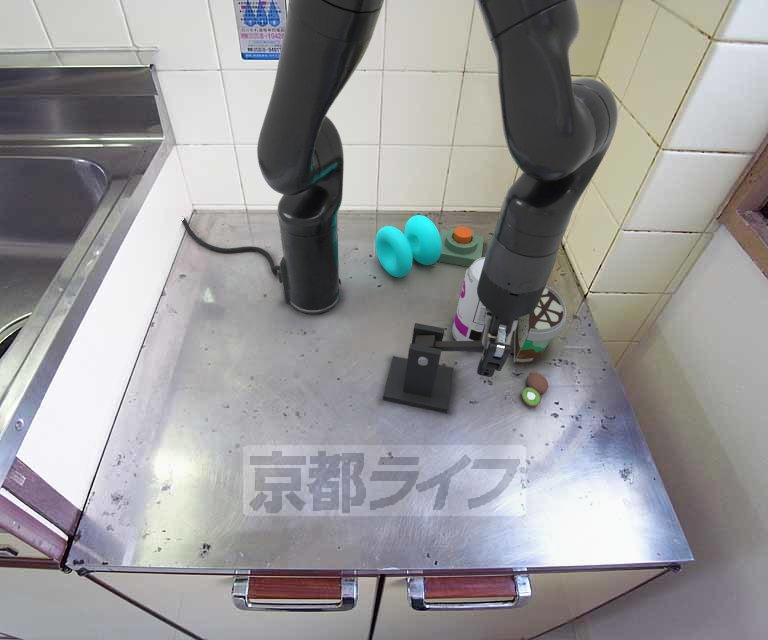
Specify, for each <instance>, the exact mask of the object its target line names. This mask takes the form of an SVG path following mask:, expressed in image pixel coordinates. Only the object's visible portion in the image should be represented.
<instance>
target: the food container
mask: <svg viewBox="0 0 768 640" xmlns="http://www.w3.org/2000/svg"><path fill="white" fill-rule="evenodd" d="M566 320H567V307H566V304H565V301H564V300H563V298H562V297H561V295H560V294H559V293H558V292H557V291H556V290H555V289H553V288H552V287H550V286H549V285H547V284H546V286H545V289H544V291H543V294H542V296H541V298H540V301H539V303H538V306H537V307H536V309H535V310H534V311H533V312H531V313H530V314H528V315H526V316H522V317H519V318H518V323H517V327H516V330H515V331H513V333H514V336H513V339H514V340H513V342H514V343H513V364H515V365H528V364H529V365H530V364H531V363H534V362H537V360H539V359H540V357H542V356H543V354H544V352H545V350H546V349H547V347H548V346H549V344H550V343H551V341H552V340H553V338H555V337H557V336H558V335H559V334H560V333H561V332H562V331H563V329H564V328H565V325H566Z"/></svg>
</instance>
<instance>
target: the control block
mask: <svg viewBox="0 0 768 640" xmlns="http://www.w3.org/2000/svg"><path fill="white" fill-rule="evenodd" d="M456 228H457V227H454V228H451V229H449V230H448V229H441V230H440V233H439V234H440V237H441V242H442V251H441V255H440V257H439V259H438V260H437V261H436V262H439V263H445V264H451V265H456V266H462V267H467V268H469V267H470V266H471V265H472V264H473V263H474V262H475V260H477V259H479V258H482V257H483V248H484V238H485V236H483V235H477V233H476V232H474V231H473V230H471V231H472V237H471V241H470V243H468V244H460V243H457V242H456V241H454V239H453V236H454V231H455V229H456Z"/></svg>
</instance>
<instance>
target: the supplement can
mask: <svg viewBox="0 0 768 640" xmlns="http://www.w3.org/2000/svg"><path fill="white" fill-rule="evenodd" d="M485 257H486V256H484V257H483V256H482V258H479V259H477V260H475V262H474V263H473V264H472V265H471V266H470V267H467V269H466V270H465V275H464V279H463V283H462V287H461V291H460V295H459V299H458V303H457V308H456V310H455V311H456V312H455V316H454V320H453V323H452V328H451V332H452V337H453V338H454V339H455V341H480V337H481V334H482V331H483V328H484V324H485V323H484V311H485V306H484V305H483V304H482V303H481V301H480V299H479V297H478V294H477V286H478V283H479V279H480V275H481V271H482V268H483V264H484V261H485Z"/></svg>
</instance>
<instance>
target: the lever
mask: <svg viewBox="0 0 768 640" xmlns="http://www.w3.org/2000/svg"><path fill="white" fill-rule="evenodd" d="M488 337H491V338H496V337H494V336H491V335H490V334H489V333H488ZM414 344H416V345H421V346H426V347H431V348H436V349H441V352H482V351H483V347H484V346H483V345H482V341H457V340H443V341H436V337H435V335H416V339H415V343H414Z"/></svg>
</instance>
